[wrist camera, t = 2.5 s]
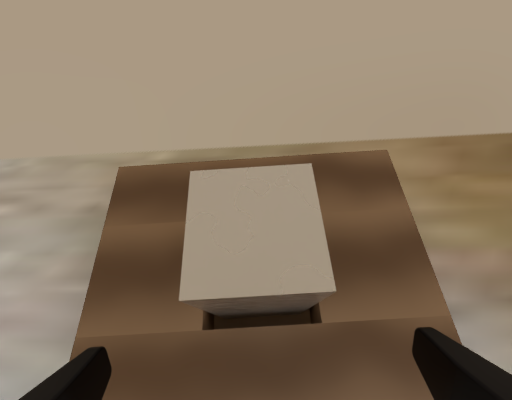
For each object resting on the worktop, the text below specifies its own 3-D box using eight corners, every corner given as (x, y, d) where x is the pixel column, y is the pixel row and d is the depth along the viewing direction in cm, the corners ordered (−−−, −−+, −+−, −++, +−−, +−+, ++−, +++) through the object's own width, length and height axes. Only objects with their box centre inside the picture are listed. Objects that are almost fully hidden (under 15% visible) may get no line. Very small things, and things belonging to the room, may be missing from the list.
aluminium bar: (299, 314, 17) (336, 291, 8) (224, 318, 17) (178, 300, 8) (290, 242, 19) (311, 163, 10) (225, 246, 19) (190, 171, 10)
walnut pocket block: (420, 385, 16) (485, 406, 11) (114, 403, 16) (51, 431, 12) (362, 188, 23) (386, 149, 19) (149, 201, 24) (119, 166, 19)
